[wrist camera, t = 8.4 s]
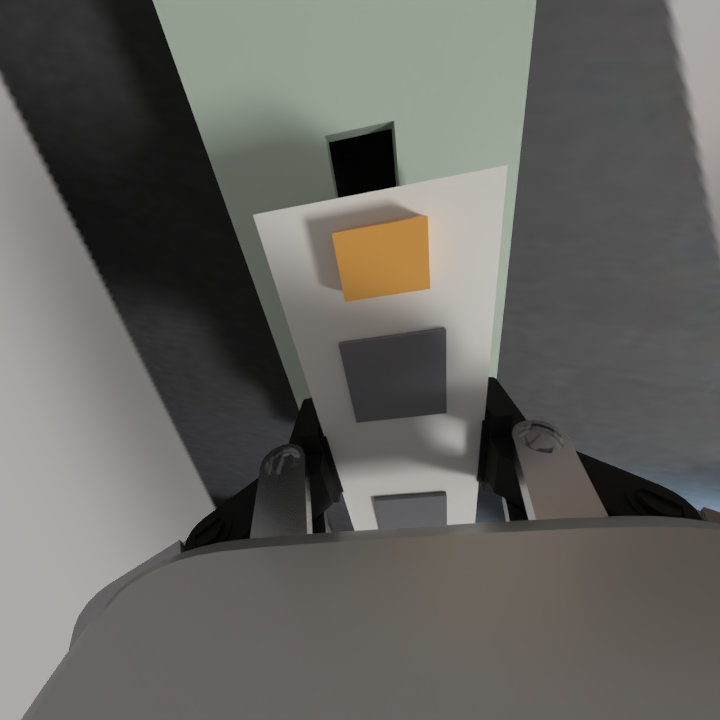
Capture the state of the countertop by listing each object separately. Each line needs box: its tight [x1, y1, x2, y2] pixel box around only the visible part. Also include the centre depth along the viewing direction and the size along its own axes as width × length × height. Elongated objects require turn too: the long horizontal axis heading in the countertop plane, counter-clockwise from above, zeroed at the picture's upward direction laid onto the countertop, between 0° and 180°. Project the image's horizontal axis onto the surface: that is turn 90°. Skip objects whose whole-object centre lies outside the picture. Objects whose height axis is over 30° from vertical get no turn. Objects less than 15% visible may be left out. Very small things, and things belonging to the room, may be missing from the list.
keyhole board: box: [153, 0, 536, 411], centre depth 13 cm, size 24×10×5 cm, turn 9°
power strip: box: [253, 165, 508, 531], centre depth 11 cm, size 14×4×8 cm, turn 9°
